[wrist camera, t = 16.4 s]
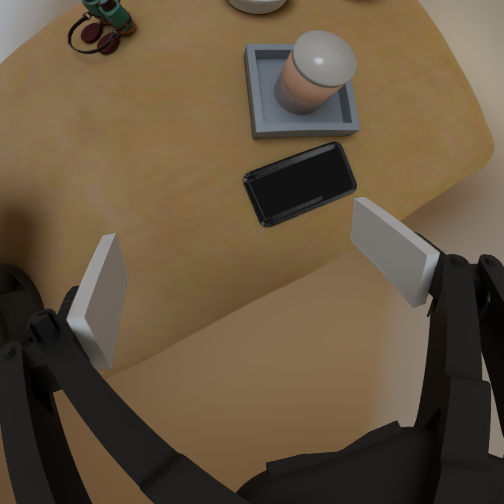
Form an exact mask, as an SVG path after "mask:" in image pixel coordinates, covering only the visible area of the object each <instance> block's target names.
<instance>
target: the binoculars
mask: <svg viewBox="0 0 504 504" xmlns="http://www.w3.org/2000/svg"><path fill="white" fill-rule="evenodd" d="M82 3H83V4H84V6H85V7H86V8H87V9H88V10H89V12H86V13H84V14H83V17H82V18H81V19H79V21H77V22H76V23H75V24H74V25H73V26H72V27H71V29H70V31H69V33H68V44H69V45H70V46H71V48H73V49H74V50H76V51H78V52H80V53H84V54H92V53H96V52H101V53H102V54H109V53H111V52H112V51H113V50H114V49H115V48H116V46H117V44H118V41H119V37H120V35H127V34H130V33H132V32H133V31H134V30H135V29H136V24H135V22H134V21H133V20H132V18H131V16H130V14H129V12H127V11H126V10H125V9H124V8H123V7H122V6H121V5H120V0H82ZM87 13H88V14H89V15H90V16H91V17H92V16H94V17H95V18H97V19H100V20H101V21H100V22H101V23H100V24H98V23H92V24H90V25H88V26H86V27H85V28H84V29H83V31H82V33H81V39H82V40H83V41H84V42H86V43H93V42H95V41H96V40H97V39H98V38H99V37H100V35H101V32H102V26H103V25H108V24H111V25H112V26H113V27H114V28H115V29H114V30H113V31H115V30H116V31H117V32H118V34H116V33H115V32H113V31H112V32H111V33H109V34H106V35H105V36H103V37H102V38H101V39H100V40H99V42H98V44H97V49H94V50H90V51H80V50H77V49H75V48H74V47H73V46H72V45H71V36H72V34H73V31H74V30H75V29H76V28H77V27H78V26H79V25H80V24H81V23H82V22H84V21H86V20H89V19H90V18H91V17H90V18H89V19H88V17H87V16H86V15H85V14H87Z"/></svg>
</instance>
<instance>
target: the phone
mask: <svg viewBox="0 0 504 504" xmlns="http://www.w3.org/2000/svg"><path fill="white" fill-rule="evenodd" d="M243 183H244V186H245V188H246V191H247V193H248V196H249V198H250V200H251V203H252V205H253V208H254V210H255V213H256V215H257V218H258V220H259V222H260V224H261V225H263V226H265V227H271V226H273V225H276V224H279V223H281V222H283V221H286V220H289V219H291V218H294V217H296V216H298V215H300V214H302V213H305V212H307V211H309V210H312V209H314V208H317V207H319V206H322V205H324V204H327V203H329V202H331V201H334V200H336V199H339V198H341V197H344V196H346V195H349V194H351V193H353V192H355V190H356V188H357V184H356V181H355V178H354V175H353V173H352V170H351V167H350V165H349V162H348V160H347V157H346V154H345V152H344V149H343V147H342V145H341V144H340V143H338V142H330V143H327V144H325V145H322V146H319V147H316V148H313V149H310V150H307V151H304V152H302V153H299V154H296V155H293V156H290V157H288V158H285V159H282V160H280V161H277V162H274V163H272V164H269V165H266V166H264V167H261V168H258V169H256V170H253V171H251V172H248V173H247V174H246V175H245V176H244V178H243Z"/></svg>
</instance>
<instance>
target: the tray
mask: <svg viewBox="0 0 504 504" xmlns="http://www.w3.org/2000/svg"><path fill="white" fill-rule="evenodd" d="M294 45H295V44H246V49H245V54H244V63H245V71H246V80H247V89H248V98H249V107H250V116H251V125H252V135H253V139H261V138H278V137H302V136H349V135H351V134H353V133H355V132H357V131H360V127H359V121H358V115H357V109H356V103H355V97H354V92H353V86H352V81H351V79H350V80H349V81H348V82H346V83H345V84H344V85H343V86H342V87H341V88H340V89H339V90H338V91H336V92H335V93H334V94H333V95H332V96H331V97H330V98H329V99H328V100H327V101H325V102H324V103H323V104H322V105H321V106H320V107H319V108H318V109H317V110H316V111H314V112H313V113H311V114H307V115H295V114H292V113H290V112H288V111H286V110H285V109H283V108H282V107H281V106H280V105H279V103H278V102H277V100H276V98H275V95H274V86H275V83H276V81H277V79H278V77H279V75H280V72H281V70H282V68H283V66H284V65H285V63H286V61H287V59H288V57H289V55H290V53H291V51H292V49H293V47H294Z"/></svg>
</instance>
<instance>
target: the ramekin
mask: <svg viewBox="0 0 504 504" xmlns="http://www.w3.org/2000/svg"><path fill="white" fill-rule="evenodd" d="M228 1H229V3H230V4H231V5H232V6H234V7H235V8H237V9H239V10H241V11H244V12H248V13H254V14H263V13H269V12H273V11H275V10H277V9H279V8H280V7H281V6H282V5H283V4H284V3H285V2H286V0H228Z"/></svg>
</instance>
